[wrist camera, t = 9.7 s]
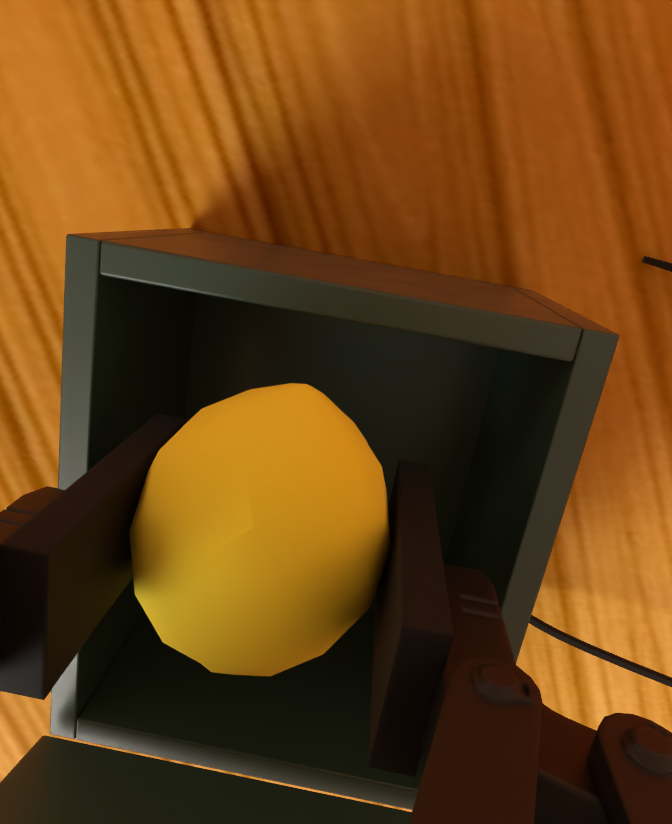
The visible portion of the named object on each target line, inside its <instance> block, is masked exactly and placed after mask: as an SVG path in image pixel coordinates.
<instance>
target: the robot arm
mask: <svg viewBox="0 0 672 824" xmlns="http://www.w3.org/2000/svg"><path fill="white" fill-rule="evenodd" d="M186 422H187V419H184V418H179V417H173V416H168V415H163V414H158V413H157V414H156V415H155V416H154V417H152V418H151V419H150V420H149V421H148V422H146V423H145V424H144V425H143V426H142V427H140V428H139V429H138V430H137V431H136V432H134V433H133V434H132V435H131V436H129V437H128V438H127V439H126V440H125V441H123V442H122V443H121V444H120V445H119V446H117V447H116V448H115V449H114V450H113V451H111V452H110V453H109V454H108V455H107V456H105V457H104V458H103V459H102V460H101V461H99V462H98V463H97V464H96V465H95V466H93V467H92V468H91V469H90V470H89V471H87V472H86V473H85V474H84V475H83V476H81V477H80V478H79V479H78V480H77V481H75V482H74V483H73V484H72V485H71V486H69V487H68V488H67V489H66V490H63V489H57V488H52V487H44V488H42V489H39V490H36V491H33V492H31V493H28V494H25V495H23V496H22V497H20V498H19V499H18V500H16V501H15V502H14V503H12V504H11V505H10V506H8V507H7V509H6V510H3V511H2V512H0V691H4V692H8V693H13V694H18V695H23V696H28V697H33V698H37V699H42V700H44V699H45V698H46V696H47V695H48V694H49V692H50V691H51V689H52V688H53V687H54V685H55V684H56V682H57V681H58V680H59V678H60V677H61V676H62V674H63V673H64V671H65V670H66V669H67V667H68V666H69V664H70V663H71V662H72V660H73V659H74V658H75V656H76V655H77V653H78V652H79V651H80V649H81V648H82V647H83V645H84V644H85V642H86V641H87V640H88V638H89V637H90V635H91V634H92V633H93V631H94V630H95V629H96V627H97V626H98V624H99V623H100V622H101V620H102V619H103V617H104V616H105V615H106V613H107V612H108V611H109V609H110V608H111V606H112V605H113V604H114V602H115V601H116V599H117V598H118V597H119V595H120V594H121V593H122V591H123V590H124V588H125V587H126V586H127V584H128V583H129V581H130V580H131V579H132V577H133V569H132V558H131V548H130V537H129V530H130V527H131V524H132V521H133V518H134V514H135V511H136V508H137V505H138V502H139V498H140V495H141V492H142V489H143V486H144V482H145V479H146V476H147V473H148V470H149V468H150V466H151V465H152V463H153V461H154V459H155V457H156V455H157V453H158V451H159V450H160V449H161V448H162V447H163V446H164V445H165V444H166V443H167V442H168V441H169V440H170V439H171V438H172V437H173V436H174V435H175V434H176V433H177V432H178V431H179V430H180V429H181V428H182V427H183V426H184V425H185V424H186ZM388 515H389V527H390V539H391V547H390V552H389V557H388V559H387V562H386V565H385V567H384V570H383V573H382V576H381V578H380V581H379V584H378V587H377V589H376V608H375V630H374V653H373V675H372V698H371V720H370V743H369V765H368V767H370V768H375V769H379V770H384V771H389V772H394V773H399V774H403V775H408V776H413V777H415V776H416V772H417V768H418V765H419V761H420V757H421V754H422V765H423V776H422V779H421V783H420V786H419V790H418V793H417V797H416V800H415V804H414V807H413V811H412V814H411V817H410V821H409V824H672V733H671V732H670V731H668V730H666V729H665V728H663V727H662V726H660V725H658V724H656V723H654V722H653V721H651V720H648V719H645V718H642V717H639V716H637V715H634V714H624V713H615V714H612V715H609V716H606V717H604V719H603V720H602V722H601V723H600V725H599V727H598V729H597V731H596V730H593V729H591V728H589V727H587V726H584V725H582V724H580V723H578V722H575V721H573V720H571V719H568V718H566V717H564V716H562V715H560V714H558V713H557V712H555V711H553V710H551V709H550V708H548V707H547V706H545V705H544V704H543V703H542V699H541V694H540V690H539V688H538V687H537V686H536V684H535V683H534V681H533V680H532V678H531V677H530V676H529V675H527V674H526V673H525V672H524V671H522V670H521V669H520V668H519V667H518V666H516V664H515V660H514V657H513V653H512V649H511V646H510V642H509V638H508V635H507V631H506V628H505V624H504V620H502V613H501V609H500V606H498V604H499V602H498V598H497V595H496V591H495V588H494V585H493V584H492V583H491V582H490V581H489V580H488V578H487V577H486V576H485V575H484V574H483V573H482V571H481V570H480V569H474V568H469V567H464V566H459V565H454V564H449V563H444V562H443V559H442V552H441V545H440V538H439V531H438V524H437V518H436V511H435V504H434V497H433V490H432V483H431V477H430V470H429V465H424V464H419V463H414V462H408V461H403V460H398V465H397V469H396V474H395V479H394V483H393V488H392V492H391V497H390V502H389V506H388Z"/></svg>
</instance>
